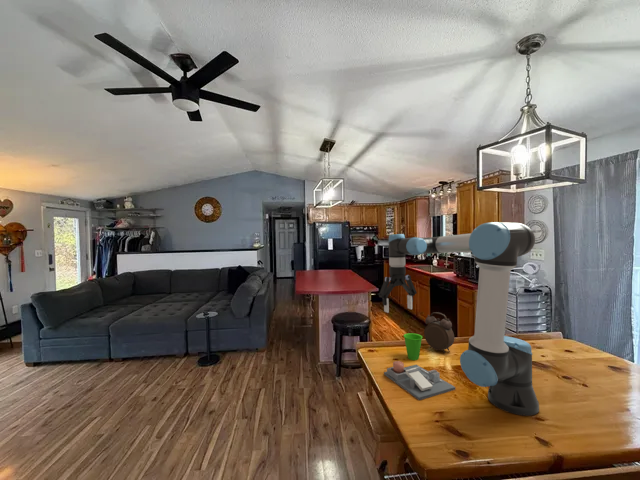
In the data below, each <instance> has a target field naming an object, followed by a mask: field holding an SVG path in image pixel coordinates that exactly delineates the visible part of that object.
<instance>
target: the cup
mask: <svg viewBox="0 0 640 480" xmlns="http://www.w3.org/2000/svg"><path fill="white" fill-rule="evenodd" d="M403 338H404V344H405V350H406V355H407V358H408V360H410V361H418V360H419V359H420V352H421V346H422V339H423V335H421V334H418V333H415V332H413V333H412V332H410V333H409V332H408V333H404V334H403Z"/></svg>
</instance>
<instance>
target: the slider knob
mask: <svg viewBox="0 0 640 480" xmlns="http://www.w3.org/2000/svg"><path fill="white" fill-rule="evenodd" d="M427 371H428V375H429V380H430V381H432V382H433V383H436V382H440V372H438V370H436V369H431V370H427Z"/></svg>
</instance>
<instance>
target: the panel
mask: <svg viewBox="0 0 640 480" xmlns="http://www.w3.org/2000/svg"><path fill="white" fill-rule="evenodd" d="M413 368H416V369H417V370H418V371H419V372H420V373H421V374H422V375H423V376H424V377H425V378H426V379H427V380H428V381H429V382H430V383H431V384H432V385H433V387H432V388H431V389H428V390H424V391H421V390H420V388H419V387H418V386H417V385H416V384H415V381H414V379H413V378H410V377H409V376H408V375H407V374H406V373H405V372H406V370H409V369H413ZM428 371H429V370H427V369H424V368H423V367H421V366H419V365H418V364H414V365H409V366H404V373H400V374H398V373H395V372H394V371H393V366H392V367H387V368H386V371H384V372H383V375H384V376H386V377H387V378H388V379H389V380H391V381H392V382H393V383H395V385H397V386H399V387H401V388H402V389H403V390H405V391H406V392H407V393H408V394H410V395H411V396H413V398H415V399H417V400H418V401H422V400H426V399H428V398H432V397H435V396H438V395H442V394H445V393H449V392H452V391H456V386H454V385H453V384H451V383H449V382H447V381H446V380H443V379H442V378H440V382H436V383H433V382H432V381H430V380H429V375H428Z"/></svg>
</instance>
